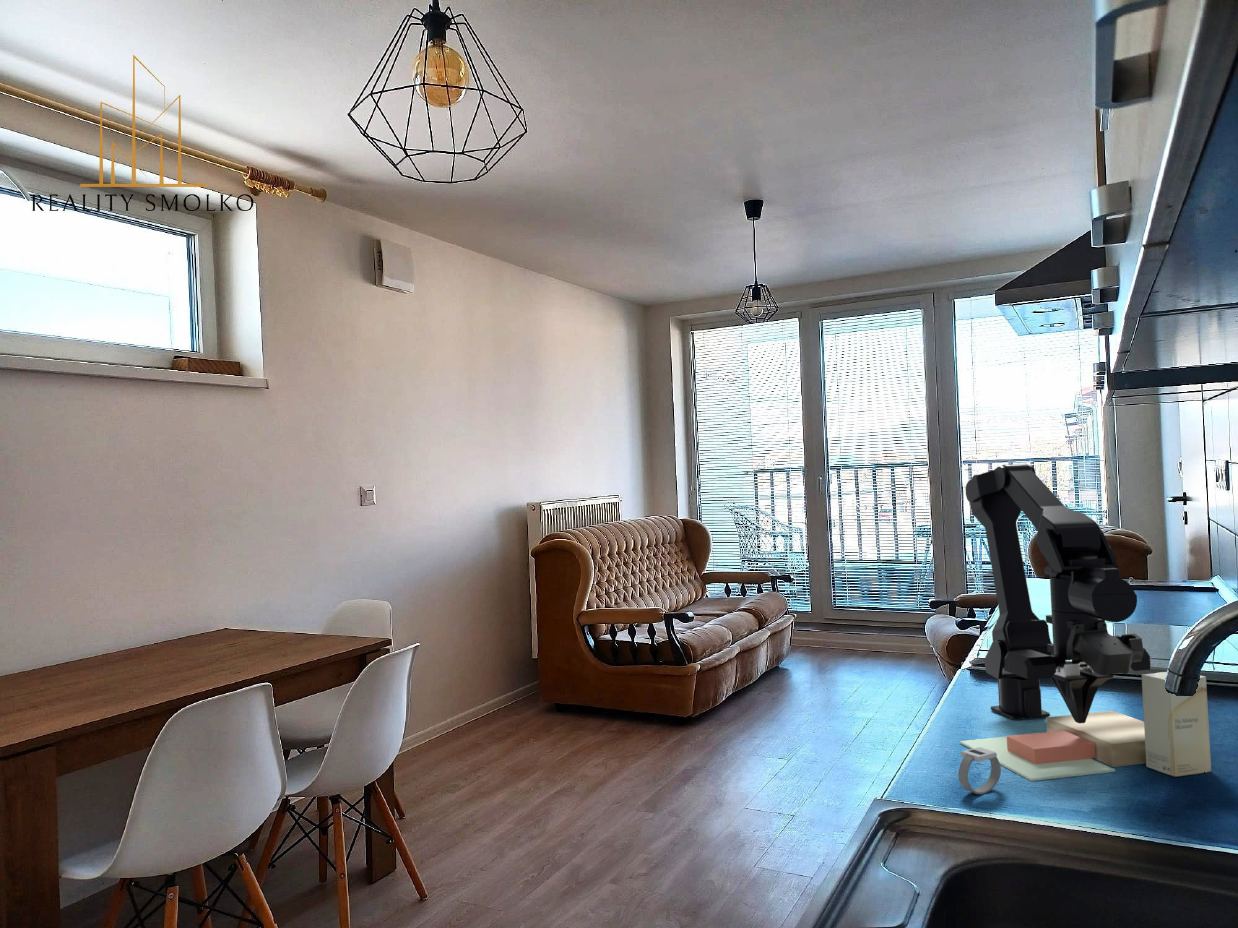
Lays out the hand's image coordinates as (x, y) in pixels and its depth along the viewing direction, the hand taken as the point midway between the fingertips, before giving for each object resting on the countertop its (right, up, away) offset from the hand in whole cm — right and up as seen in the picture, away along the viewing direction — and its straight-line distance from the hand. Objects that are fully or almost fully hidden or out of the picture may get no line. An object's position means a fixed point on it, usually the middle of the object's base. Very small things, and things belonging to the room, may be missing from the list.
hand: (1080, 722), depth 118 cm
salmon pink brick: (-5, -3, -2) cm, 6 cm away
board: (+5, -4, +1) cm, 6 cm away
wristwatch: (-19, -5, -13) cm, 24 cm away
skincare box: (+8, -4, -8) cm, 12 cm away
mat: (-7, -4, -1) cm, 9 cm away
